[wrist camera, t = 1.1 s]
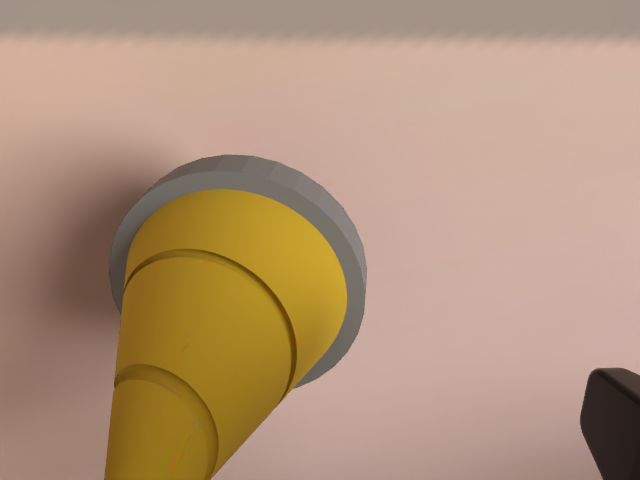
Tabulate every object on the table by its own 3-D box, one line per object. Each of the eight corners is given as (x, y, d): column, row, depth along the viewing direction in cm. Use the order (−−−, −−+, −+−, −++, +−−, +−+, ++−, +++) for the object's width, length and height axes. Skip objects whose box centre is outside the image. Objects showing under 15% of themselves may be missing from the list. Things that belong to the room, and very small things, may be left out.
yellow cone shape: (404, 263, 15) (422, 688, 7) (236, 327, 17) (66, 741, 8) (311, 79, 14) (157, 329, 5) (131, 171, 15) (-237, 489, 6)
